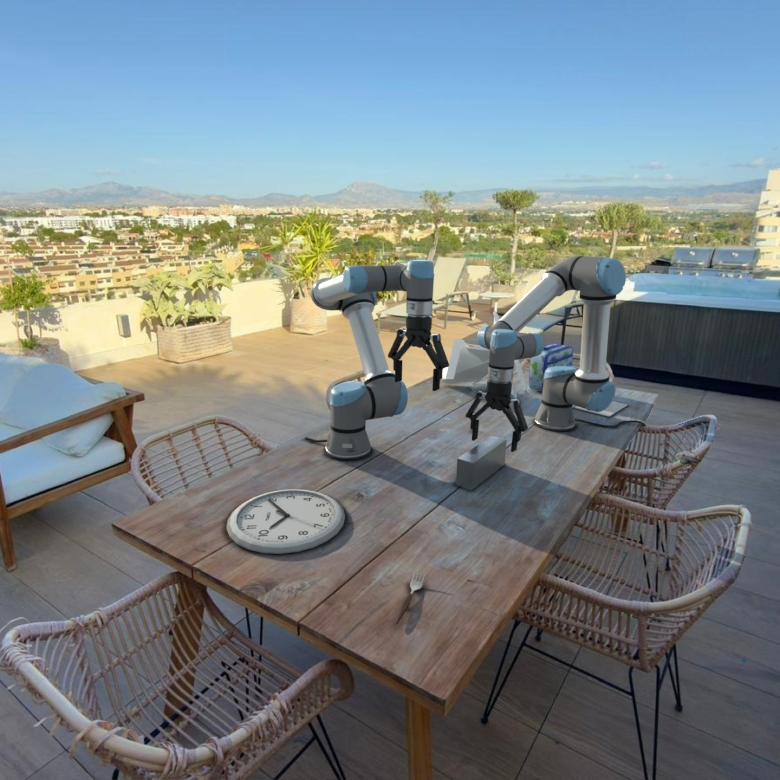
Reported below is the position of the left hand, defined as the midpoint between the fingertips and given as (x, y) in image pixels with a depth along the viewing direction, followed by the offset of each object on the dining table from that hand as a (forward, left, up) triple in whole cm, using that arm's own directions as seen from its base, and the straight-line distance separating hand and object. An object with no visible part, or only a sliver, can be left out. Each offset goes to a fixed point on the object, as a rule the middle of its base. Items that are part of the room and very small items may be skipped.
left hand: (416, 385), depth 157 cm
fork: (+28, -54, -28) cm, 67 cm away
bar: (+20, +8, -28) cm, 35 cm away
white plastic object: (-12, +87, -28) cm, 92 cm away
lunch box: (+13, +112, -28) cm, 116 cm away
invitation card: (+40, +97, -28) cm, 109 cm away
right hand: (+20, +15, -20) cm, 32 cm away
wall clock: (-13, -44, -28) cm, 54 cm away
